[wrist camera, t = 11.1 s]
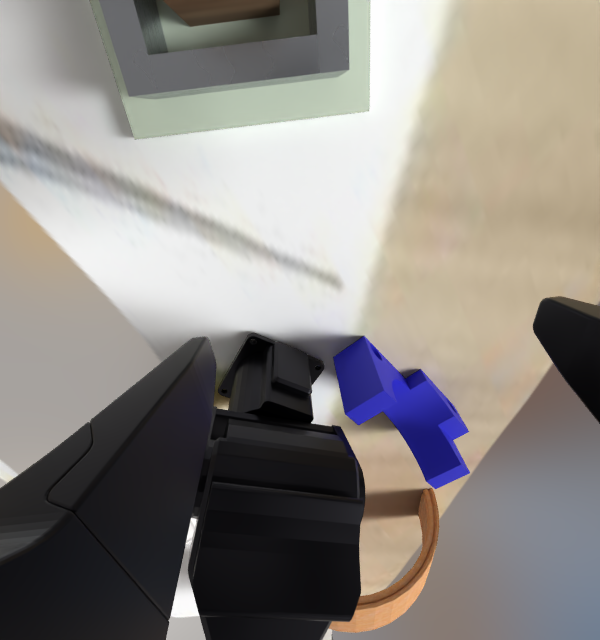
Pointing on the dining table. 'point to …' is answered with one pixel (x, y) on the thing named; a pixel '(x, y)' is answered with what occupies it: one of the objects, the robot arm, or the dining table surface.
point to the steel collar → (223, 53)
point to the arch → (404, 592)
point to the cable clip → (403, 409)
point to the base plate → (248, 103)
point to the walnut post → (222, 10)
